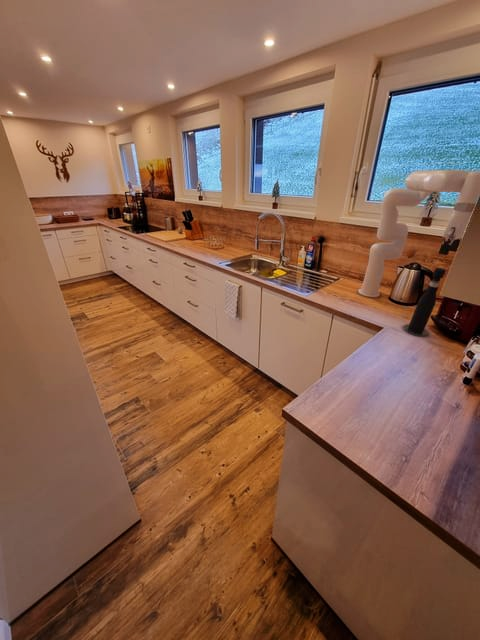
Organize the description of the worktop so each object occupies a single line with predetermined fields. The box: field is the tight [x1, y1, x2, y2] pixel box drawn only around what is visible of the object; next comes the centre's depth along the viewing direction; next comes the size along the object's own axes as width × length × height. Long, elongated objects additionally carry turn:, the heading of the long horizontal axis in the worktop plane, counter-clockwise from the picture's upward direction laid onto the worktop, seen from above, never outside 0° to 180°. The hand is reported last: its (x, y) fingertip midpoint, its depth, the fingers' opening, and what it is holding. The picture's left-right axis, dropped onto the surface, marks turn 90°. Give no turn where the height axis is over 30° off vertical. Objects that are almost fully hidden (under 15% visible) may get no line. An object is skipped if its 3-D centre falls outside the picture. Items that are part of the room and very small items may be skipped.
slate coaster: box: [403, 323, 429, 337], centre depth 127 cm, size 10×10×1 cm
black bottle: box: [408, 267, 447, 333], centre depth 119 cm, size 6×6×30 cm
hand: (447, 252), depth 109 cm, fingers open, 9 cm apart
